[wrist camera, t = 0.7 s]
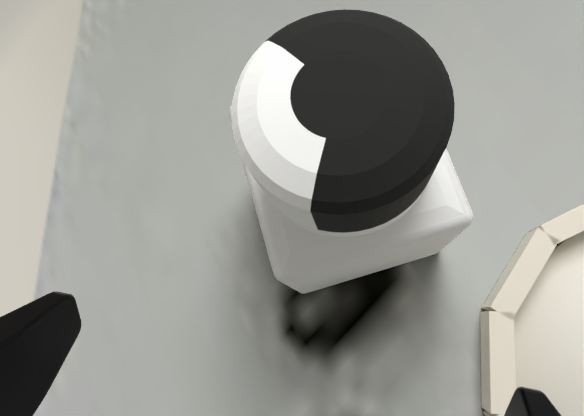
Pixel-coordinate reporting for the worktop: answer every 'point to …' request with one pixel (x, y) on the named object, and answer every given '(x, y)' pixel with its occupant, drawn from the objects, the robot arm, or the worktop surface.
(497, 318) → the coaster
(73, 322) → the robot arm
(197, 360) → the worktop surface
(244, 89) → the medicine bottle
